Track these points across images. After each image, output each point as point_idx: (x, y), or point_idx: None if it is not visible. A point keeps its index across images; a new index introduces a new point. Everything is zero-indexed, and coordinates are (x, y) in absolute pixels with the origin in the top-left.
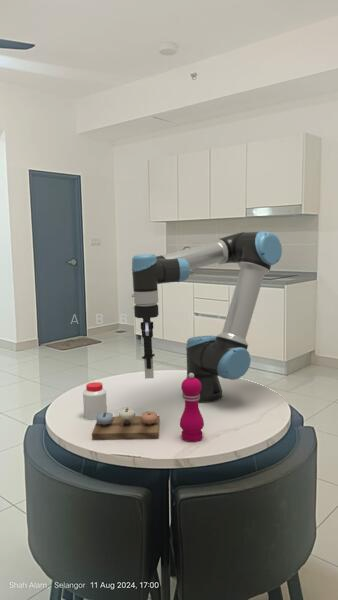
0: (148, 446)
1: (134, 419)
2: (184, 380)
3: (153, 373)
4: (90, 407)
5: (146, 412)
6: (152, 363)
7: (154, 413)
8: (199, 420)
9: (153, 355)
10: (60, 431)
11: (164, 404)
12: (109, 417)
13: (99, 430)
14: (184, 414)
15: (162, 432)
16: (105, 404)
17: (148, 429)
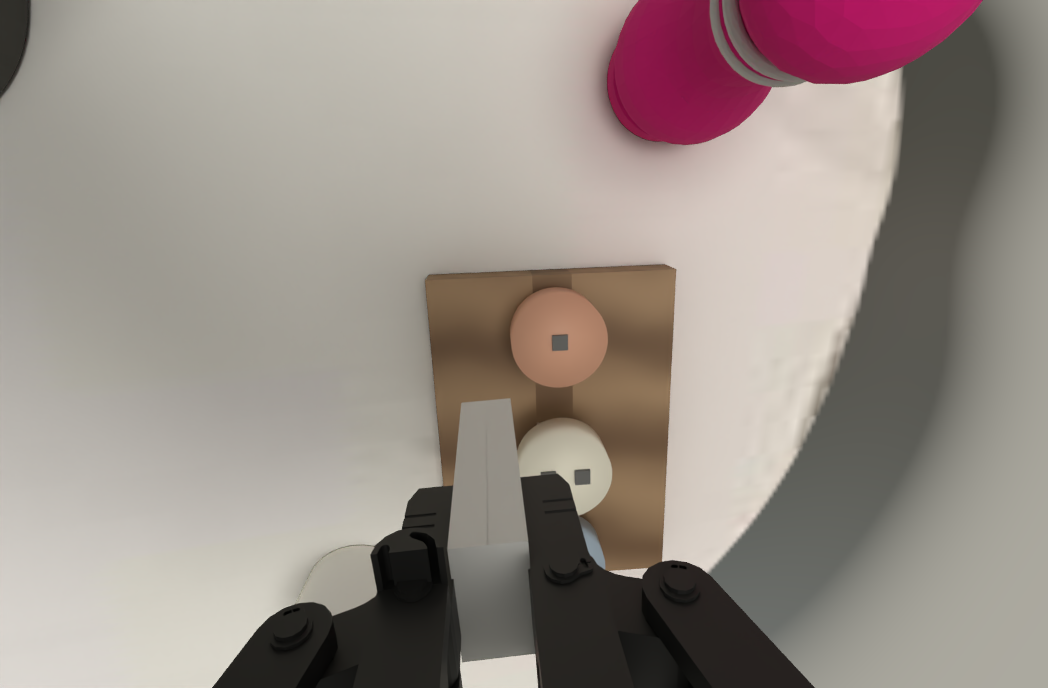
0: (745, 307)
1: None
2: (927, 17)
3: (496, 420)
4: None
5: (525, 361)
6: (521, 494)
7: (543, 312)
8: None
9: (442, 556)
10: None
11: (123, 260)
12: (593, 540)
13: (628, 544)
14: (753, 100)
15: (582, 249)
16: (356, 592)
17: (630, 325)
